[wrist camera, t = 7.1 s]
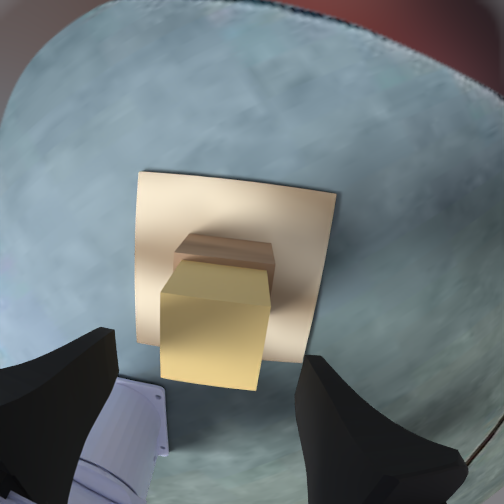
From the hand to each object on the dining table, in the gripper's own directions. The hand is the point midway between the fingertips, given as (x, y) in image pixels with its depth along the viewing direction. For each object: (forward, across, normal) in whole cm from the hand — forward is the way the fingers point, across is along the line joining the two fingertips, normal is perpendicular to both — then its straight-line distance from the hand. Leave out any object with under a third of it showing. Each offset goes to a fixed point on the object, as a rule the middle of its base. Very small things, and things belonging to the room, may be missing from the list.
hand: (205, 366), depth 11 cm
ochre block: (+5, 0, 0) cm, 5 cm away
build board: (+10, 0, 0) cm, 10 cm away
